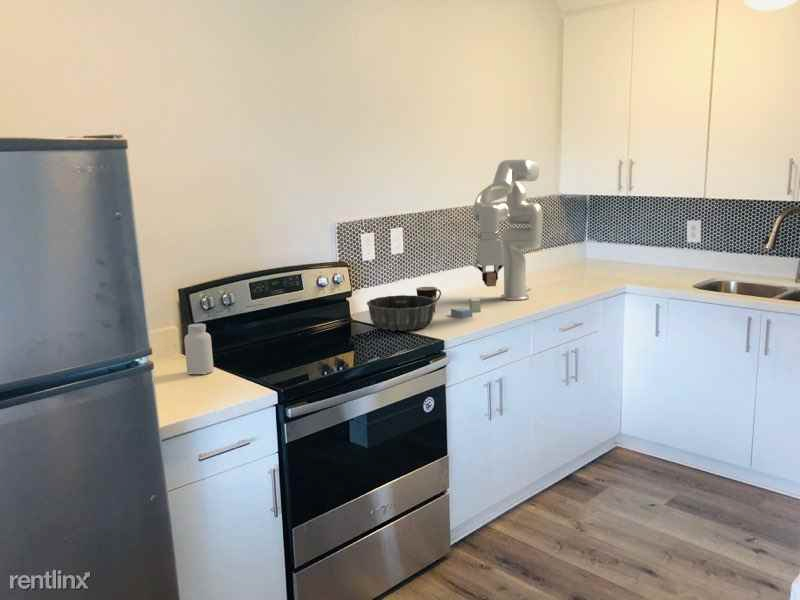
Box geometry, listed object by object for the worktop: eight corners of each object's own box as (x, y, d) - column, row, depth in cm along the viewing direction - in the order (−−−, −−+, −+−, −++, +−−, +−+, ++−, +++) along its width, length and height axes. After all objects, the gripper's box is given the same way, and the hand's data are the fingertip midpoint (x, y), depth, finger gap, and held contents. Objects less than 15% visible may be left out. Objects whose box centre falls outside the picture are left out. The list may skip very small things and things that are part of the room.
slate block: (451, 315, 297) (450, 308, 297) (461, 314, 299) (461, 307, 299) (462, 319, 290) (461, 311, 290) (472, 317, 293) (472, 310, 292)
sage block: (469, 309, 307) (469, 298, 306) (477, 309, 307) (477, 297, 306) (472, 312, 301) (472, 300, 300) (480, 312, 301) (480, 300, 300)
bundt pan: (451, 325, 279) (450, 299, 277) (401, 338, 261) (401, 311, 259) (402, 316, 298) (402, 292, 296) (353, 328, 280) (352, 302, 278)
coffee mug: (420, 314, 300) (419, 290, 298) (414, 311, 308) (413, 287, 306) (447, 312, 303) (446, 288, 301) (440, 308, 311) (440, 285, 309)
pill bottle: (216, 368, 230) (212, 321, 227) (210, 375, 222) (206, 327, 219) (190, 369, 230) (186, 322, 227) (184, 376, 222) (179, 328, 219)
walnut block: (484, 283, 294) (484, 271, 293) (492, 283, 295) (492, 271, 294) (487, 286, 289) (487, 274, 288) (496, 286, 289) (495, 273, 288)
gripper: (470, 238, 283) (471, 285, 287) (512, 236, 285) (512, 282, 288) (466, 236, 291) (468, 281, 294) (507, 234, 292) (508, 279, 296)
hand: (490, 281), depth 291 cm, fingers closed on walnut block, 3 cm apart
